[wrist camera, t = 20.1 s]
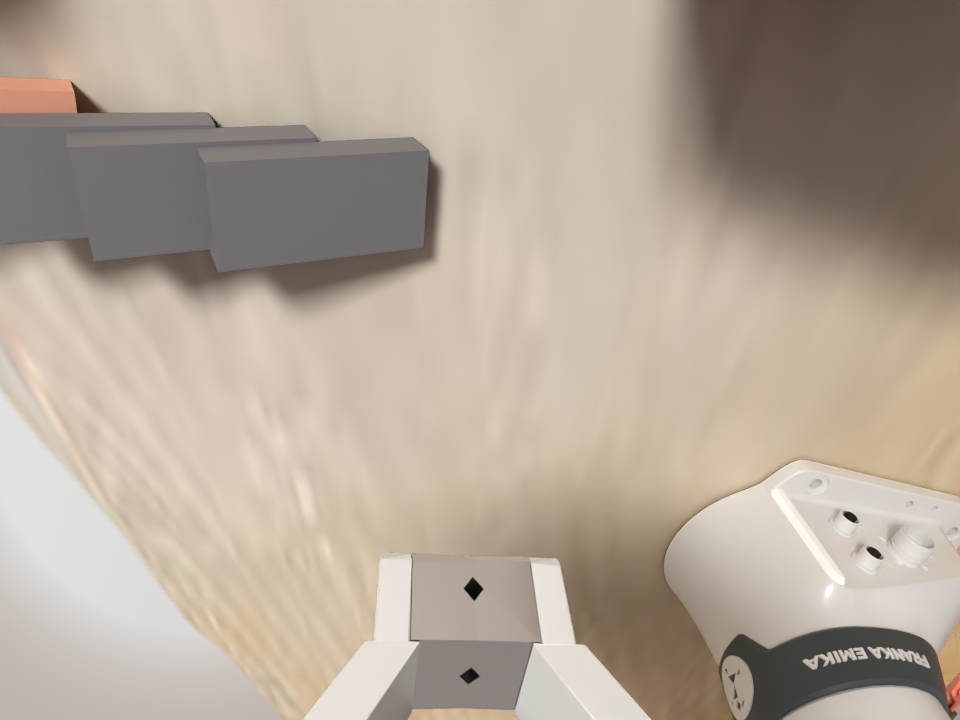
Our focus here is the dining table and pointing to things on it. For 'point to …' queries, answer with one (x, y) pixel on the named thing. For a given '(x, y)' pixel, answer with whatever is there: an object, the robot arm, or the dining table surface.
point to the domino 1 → (36, 96)
